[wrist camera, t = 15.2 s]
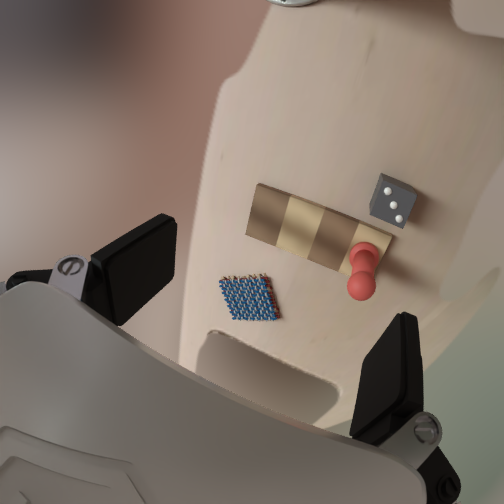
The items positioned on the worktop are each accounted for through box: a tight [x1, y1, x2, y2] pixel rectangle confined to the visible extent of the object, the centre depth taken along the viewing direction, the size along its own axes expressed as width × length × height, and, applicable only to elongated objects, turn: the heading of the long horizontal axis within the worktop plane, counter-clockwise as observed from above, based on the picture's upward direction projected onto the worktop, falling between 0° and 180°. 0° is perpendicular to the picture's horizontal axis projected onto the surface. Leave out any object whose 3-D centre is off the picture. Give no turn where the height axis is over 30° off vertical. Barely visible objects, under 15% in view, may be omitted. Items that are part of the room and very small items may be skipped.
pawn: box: [347, 242, 379, 301], centre depth 36 cm, size 5×5×10 cm
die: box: [370, 173, 417, 229], centre depth 34 cm, size 5×5×5 cm
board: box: [245, 183, 392, 277], centre depth 43 cm, size 9×22×1 cm, turn 77°
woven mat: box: [219, 273, 280, 321], centre depth 54 cm, size 10×11×2 cm
